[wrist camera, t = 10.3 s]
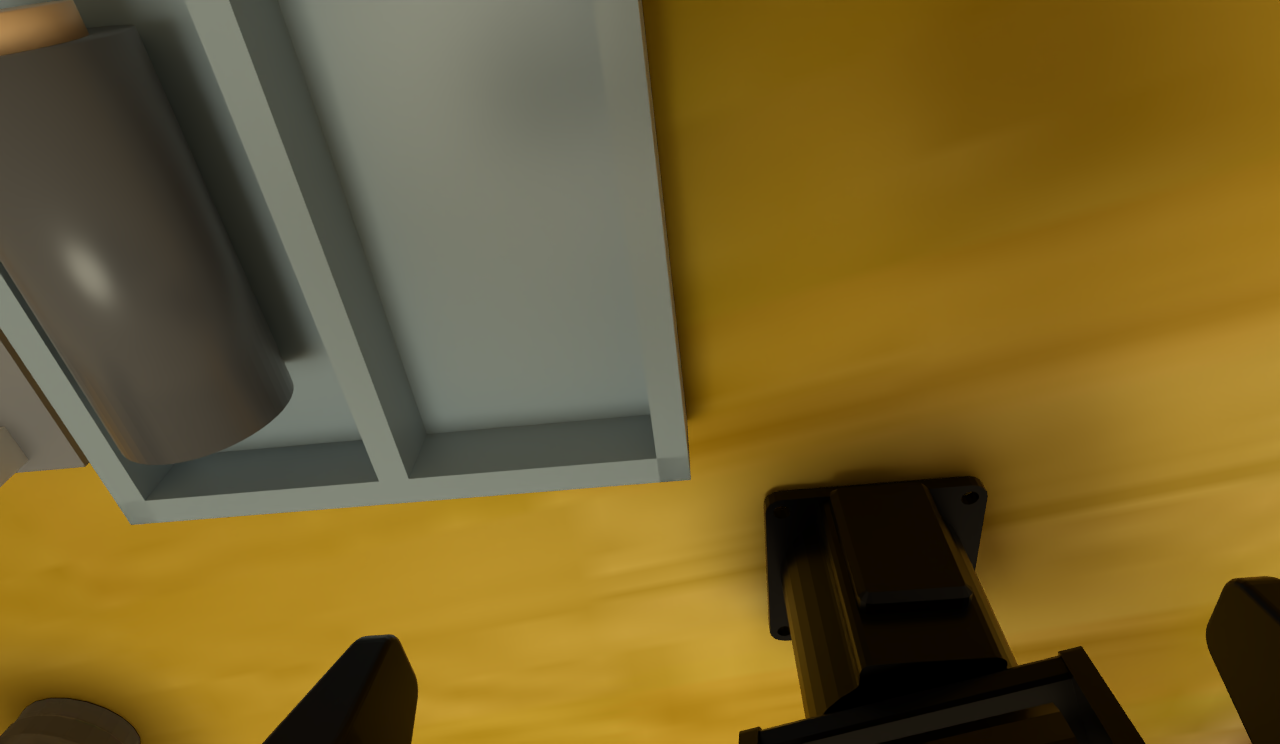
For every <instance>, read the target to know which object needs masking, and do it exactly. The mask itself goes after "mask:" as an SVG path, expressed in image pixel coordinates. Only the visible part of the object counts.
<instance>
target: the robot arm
mask: <svg viewBox="0 0 1280 744" xmlns="http://www.w3.org/2000/svg"><path fill="white" fill-rule="evenodd" d="M967 492H971V493H970V494H968V495H964V494H965V493H967ZM987 497H988V496H987V491H986V489H985V487H984V485H983V484H982V482H981V481H980V480H979V479H978V478H976V477H971V476H964V477H951V478H939V479H926V480H913V481H901V482H888V483H875V484H862V485H850V486H837V487H824V488H812V489H799V490H786V491H778V492H773V493H772V494H770V495H768V496H767V498H766V499H765V501H764V525H765V548H766V572H767V595H768V619H769V628H770V633H771V636H772V637H774V638H775V639H778V640H784V641H786V640H792V644H793V650H794V655H795V661H796V667H797V672H798V678H799V683H800V689H801V695H802V700H803V706H804V711H805V717H806V719H803V720H799V721H795V722H791V723H787V724H783V725H779V726H775V727H771V728H767V729H763V730H762V729H761V728H760V727H756V728H752V729H748V730H744V731H740V732H739V744H1145V742H1144V741H1143V739H1142V738H1141V736H1140V735H1139V733H1138V732H1137V730H1136V728H1135V727H1134V725H1133V724H1132V722H1131V721H1130V719H1129V718H1128V716H1127V715H1126V713H1125V712H1124V710H1123V709H1122V707H1121V706H1120V704H1119V703H1118V701H1117V699H1116V698H1115V696H1114V695H1113V693H1112V692H1111V690H1110V689H1109V687H1108V686H1107V684H1106V683H1105V681H1104V680H1103V678H1102V677H1101V675H1100V674H1099V672H1098V670H1097V669H1096V667H1095V666H1094V664H1093V663H1092V661H1091V660H1090V658H1089V657H1088V655H1087V654H1086V652H1085V651H1084V649H1083V648H1082V646H1079V647H1075V648H1071V649H1067V650H1063V651H1059V652H1058V655H1059V656H1055V657H1051V658H1047V659H1043V660H1039V661H1035V662H1031V663H1027V664H1023V665H1019V666H1018V664H1017V662H1016V660H1015V658H1014V656H1013V653H1012V651H1011V649H1010V647H1009V645H1008V643H1007V640H1006V638H1005V636H1004V634H1003V632H1002V629H1001V627H1000V625H999V623H998V621H997V619H996V616H995V614H994V612H993V610H992V608H991V605H990V603H989V601H988V599H987V597H986V595H985V592H984V590H983V588H982V586H981V584H980V581H979V579H978V577H977V575H976V573H975V567H976V561H977V555H978V549H979V544H980V538H981V532H982V526H983V520H984V514H985V509H986V503H987ZM780 506H785V507H786V508H784V509H776V508H777V507H780ZM1206 641H1207V645H1208V649H1209V652H1210V654H1211V656H1212V658H1213V661H1214V663H1215V665H1216V667H1217V669H1218V671H1219V673H1220V676H1221V678H1222V680H1223V682H1224V684H1225V686H1226V689H1227V691H1228V693H1229V695H1230V697H1231V699H1232V701H1233V704H1234V706H1235V708H1236V710H1237V712H1238V714H1239V716H1240V719H1241V721H1242V723H1243V725H1244V727H1245V729H1246V732H1247V734H1248V736H1249V738H1250V740H1251V742H1252V744H1280V579H1278V578H1275V577H1268V576H1262V577H1247V578H1235V579H1232V580H1230V581H1229V582H1227V583H1226V585H1225V586H1224V588H1223V590H1222V592H1221V595H1220V597H1219V599H1218V602H1217V604H1216V606H1215V608H1214V611H1213V613H1212V615H1211V618H1210V620H1209V622H1208V624H1207V628H1206ZM417 699H418V684H417V679H416V676H415V673H414V671H413V669H412V667H411V665H410V662H409V660H408V658H407V656H406V653H405V651H404V649H403V647H402V645H401V643H400V641H399V639H398V638H397V637H395V636H394V635H374V636H365V637H361V638H359V639H358V640H356V641H355V642H354V643H353V644H352V645H351V646H350V647H349V648H348V649H347V650H346V651H345V653H344V654H343V655H342V656H341V657H340V658H339V659H338V660H337V661H336V662H335V664H334V665H333V666H332V667H331V668H330V669H329V670H328V671H327V672H326V674H325V675H324V676H323V677H322V678H321V679H320V680H319V681H318V682H317V683H316V685H315V686H314V687H313V688H312V689H311V690H310V691H309V692H308V693H307V695H306V696H305V697H304V698H303V699H302V700H301V701H300V702H299V703H298V704H297V706H296V707H295V708H294V709H293V710H292V711H291V712H290V713H289V714H288V716H287V717H286V718H285V719H284V720H283V721H282V722H281V723H280V724H279V725H278V727H277V728H276V729H275V730H274V731H273V732H272V733H271V734H270V735H269V737H268V738H267V739H266V740H265V741H264V742H263V743H262V744H411V742H412V735H413V728H414V721H415V713H416V706H417Z"/></svg>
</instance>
